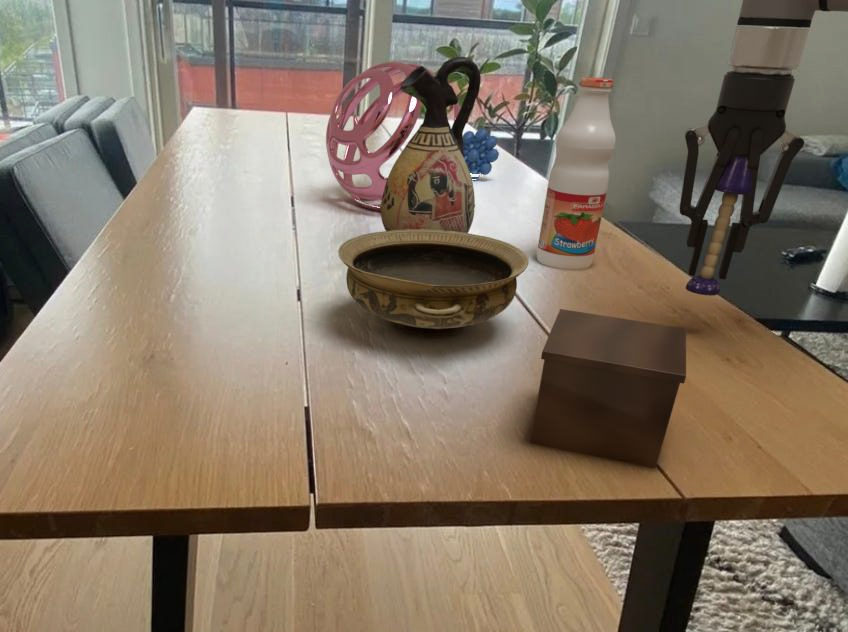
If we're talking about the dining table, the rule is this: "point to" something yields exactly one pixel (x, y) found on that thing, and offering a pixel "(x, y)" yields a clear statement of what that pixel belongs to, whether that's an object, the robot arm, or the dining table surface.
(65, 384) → the dining table surface
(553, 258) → the fruit juice
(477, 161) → the grapes
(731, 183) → the toy lamp
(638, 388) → the brown wooden box
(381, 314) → the ceramic bowl
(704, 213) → the robot arm
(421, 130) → the ceramic jug
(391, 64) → the spiral basket
